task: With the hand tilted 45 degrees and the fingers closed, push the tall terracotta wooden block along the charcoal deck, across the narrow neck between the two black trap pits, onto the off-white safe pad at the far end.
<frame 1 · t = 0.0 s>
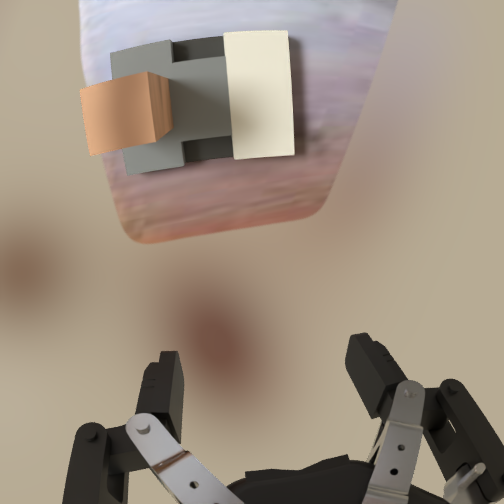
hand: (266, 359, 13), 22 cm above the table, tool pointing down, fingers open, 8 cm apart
block: (145, 107, 24), point 2 cm above the table, touching deck
deck: (218, 96, 27), on the table
safe pad: (257, 93, 27), on the table
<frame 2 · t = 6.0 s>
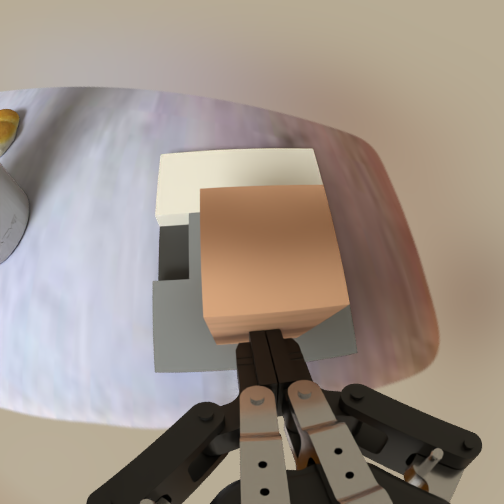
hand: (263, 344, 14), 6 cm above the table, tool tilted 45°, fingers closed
block: (253, 303, 19), point 2 cm above the table, touching gripper
deck: (243, 234, 23), on the table
safe pad: (239, 191, 25), on the table
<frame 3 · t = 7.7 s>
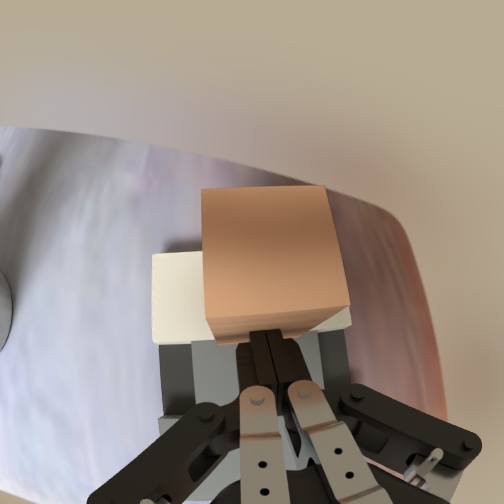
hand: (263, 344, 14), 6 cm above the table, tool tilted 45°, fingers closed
block: (254, 303, 19), point 2 cm above the table, touching gripper
deck: (254, 354, 20), on the table
safe pad: (248, 298, 21), on the table
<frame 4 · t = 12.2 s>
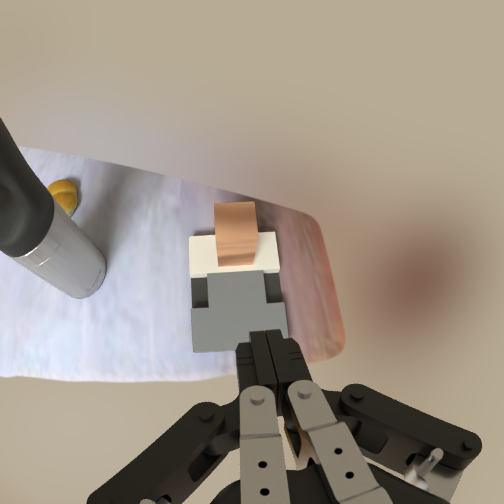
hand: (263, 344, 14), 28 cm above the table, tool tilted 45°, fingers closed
block: (234, 249, 44), point 2 cm above the table, touching safe pad
deck: (235, 282, 44), on the table
safe pad: (233, 257, 46), on the table
bread roll: (62, 205, 48), on the table
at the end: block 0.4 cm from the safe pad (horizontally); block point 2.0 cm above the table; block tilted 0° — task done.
